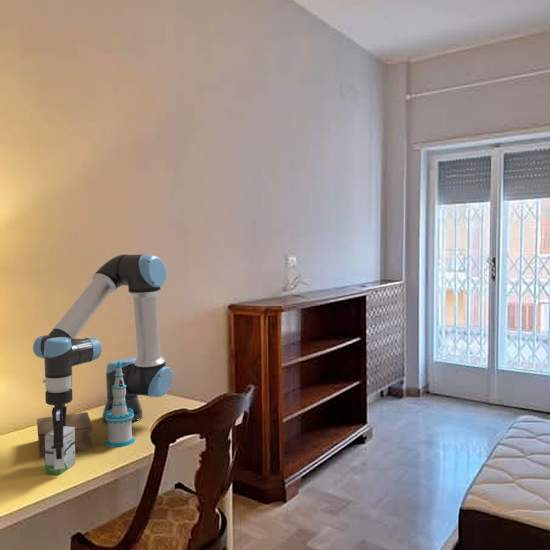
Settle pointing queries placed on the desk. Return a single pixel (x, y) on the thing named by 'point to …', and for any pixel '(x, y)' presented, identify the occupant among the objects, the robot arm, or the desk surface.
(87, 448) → the walnut block
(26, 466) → the desk surface
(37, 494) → the desk surface
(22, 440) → the desk surface
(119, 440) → the model tower
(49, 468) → the ink box
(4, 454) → the desk surface
